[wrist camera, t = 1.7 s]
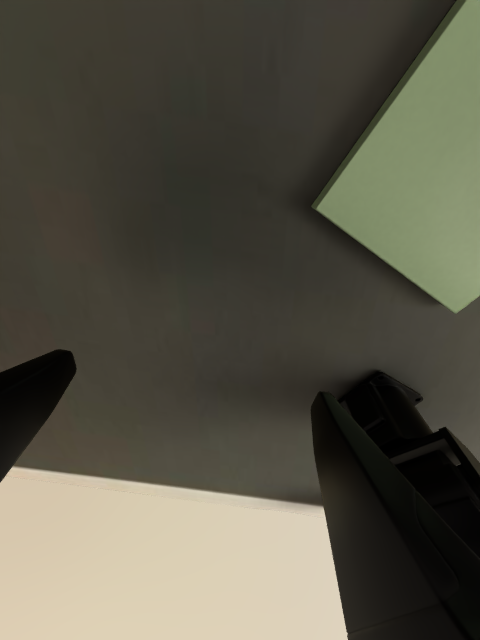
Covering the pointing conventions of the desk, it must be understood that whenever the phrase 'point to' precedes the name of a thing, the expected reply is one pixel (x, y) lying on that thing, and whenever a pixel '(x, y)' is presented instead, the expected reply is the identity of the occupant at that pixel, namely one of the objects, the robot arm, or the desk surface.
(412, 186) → the board
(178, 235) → the desk surface
